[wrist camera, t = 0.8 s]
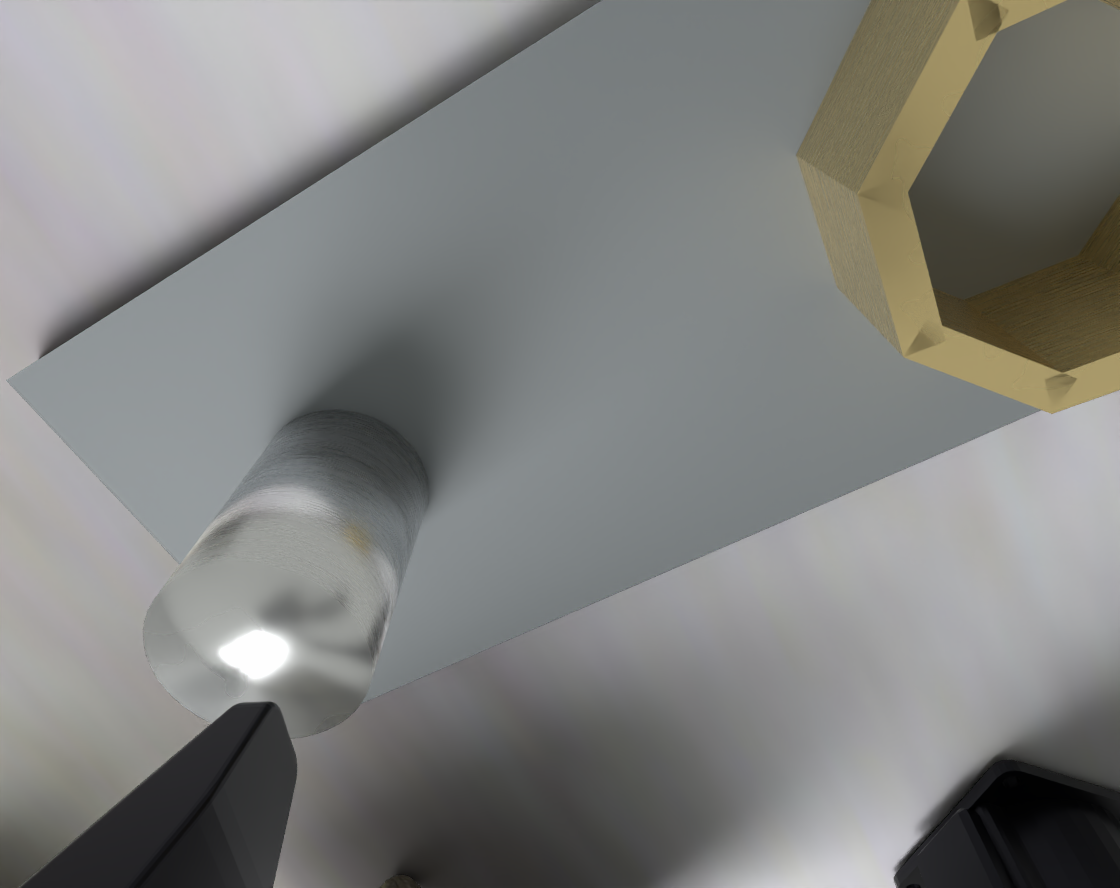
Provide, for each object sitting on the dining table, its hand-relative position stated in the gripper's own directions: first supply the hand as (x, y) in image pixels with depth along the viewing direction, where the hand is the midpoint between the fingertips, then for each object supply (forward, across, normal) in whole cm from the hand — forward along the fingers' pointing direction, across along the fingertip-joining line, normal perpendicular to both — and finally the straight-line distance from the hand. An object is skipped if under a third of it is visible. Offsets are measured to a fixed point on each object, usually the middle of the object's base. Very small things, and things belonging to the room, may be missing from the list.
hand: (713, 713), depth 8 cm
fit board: (+12, 0, 0) cm, 12 cm away
